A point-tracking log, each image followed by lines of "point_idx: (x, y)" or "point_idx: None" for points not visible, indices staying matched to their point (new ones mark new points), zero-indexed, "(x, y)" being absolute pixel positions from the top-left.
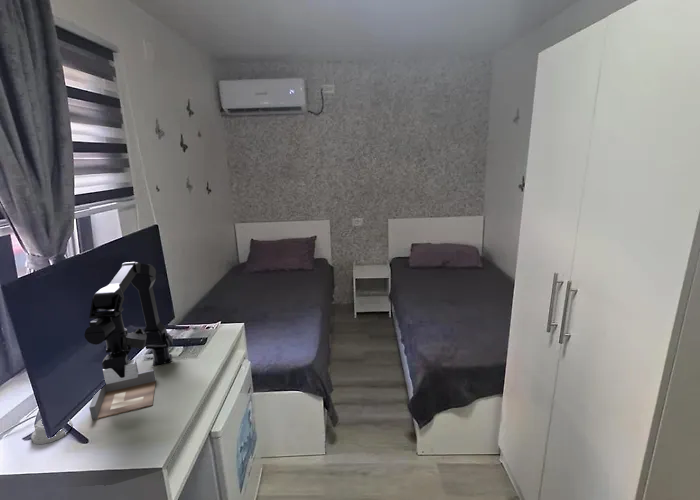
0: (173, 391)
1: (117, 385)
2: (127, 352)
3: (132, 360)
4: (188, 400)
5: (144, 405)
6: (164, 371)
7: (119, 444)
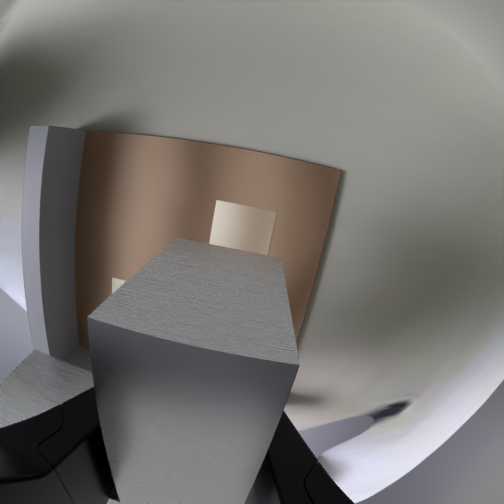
0: (254, 50)
1: (65, 311)
2: (1, 500)
3: (116, 374)
4: (393, 24)
5: (321, 207)
6: (26, 96)
7: (491, 318)
